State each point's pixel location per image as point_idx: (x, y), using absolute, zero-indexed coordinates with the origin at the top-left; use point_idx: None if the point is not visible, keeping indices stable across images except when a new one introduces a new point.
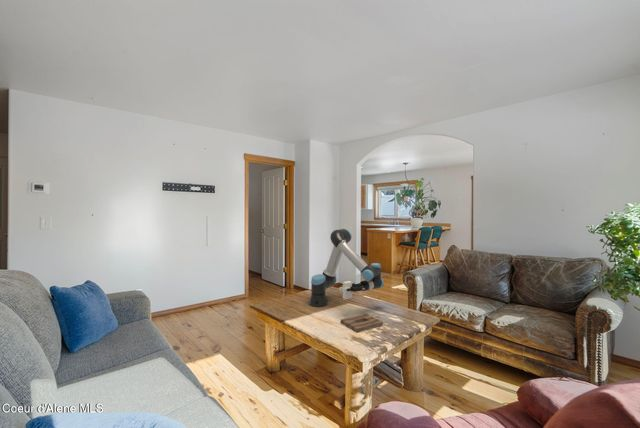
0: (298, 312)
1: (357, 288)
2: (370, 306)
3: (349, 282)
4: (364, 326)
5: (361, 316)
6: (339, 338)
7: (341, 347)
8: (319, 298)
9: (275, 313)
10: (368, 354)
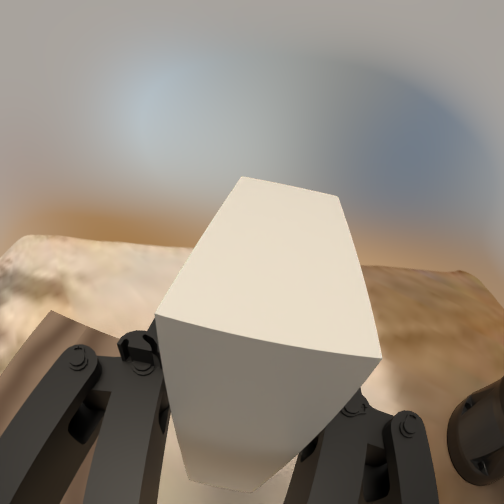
0: (410, 325)
1: (17, 429)
2: None
3: (203, 239)
4: (24, 343)
5: (86, 471)
6: (102, 267)
7: (78, 240)
8: (486, 405)
9: (417, 277)
10: (11, 246)
